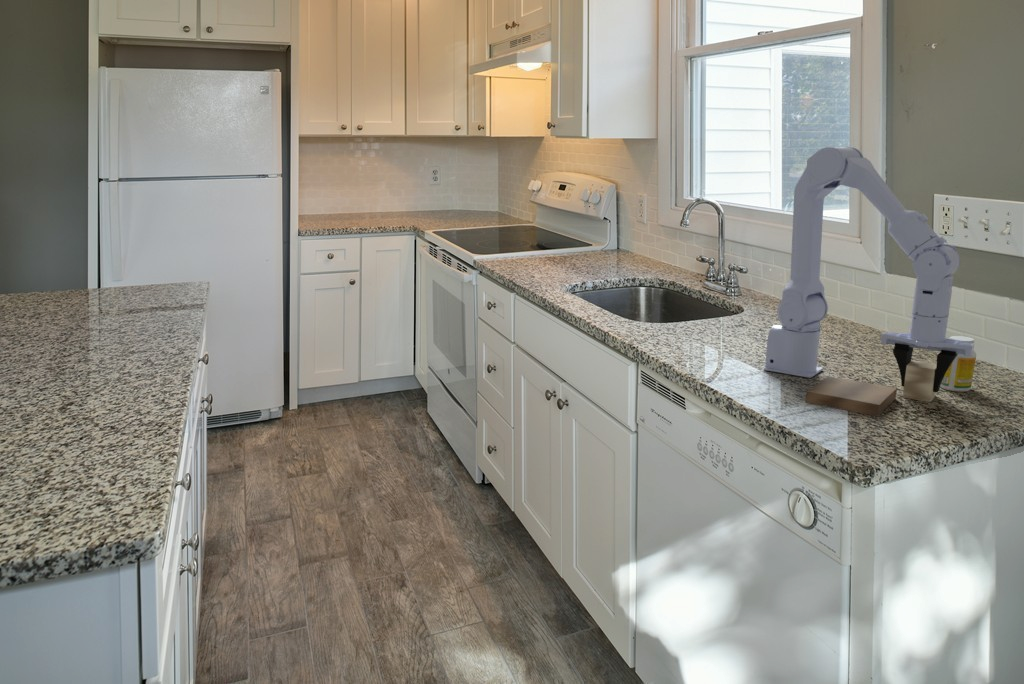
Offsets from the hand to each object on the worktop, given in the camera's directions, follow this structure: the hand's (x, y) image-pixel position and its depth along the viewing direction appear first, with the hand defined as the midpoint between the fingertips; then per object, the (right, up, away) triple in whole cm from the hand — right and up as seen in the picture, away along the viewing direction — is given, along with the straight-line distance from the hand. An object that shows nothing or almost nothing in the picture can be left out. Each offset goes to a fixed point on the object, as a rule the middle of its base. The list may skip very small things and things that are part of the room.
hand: (920, 388), depth 140 cm
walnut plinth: (-13, -2, -2) cm, 14 cm away
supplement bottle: (+9, -1, +6) cm, 11 cm away
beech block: (0, -2, 0) cm, 2 cm away
